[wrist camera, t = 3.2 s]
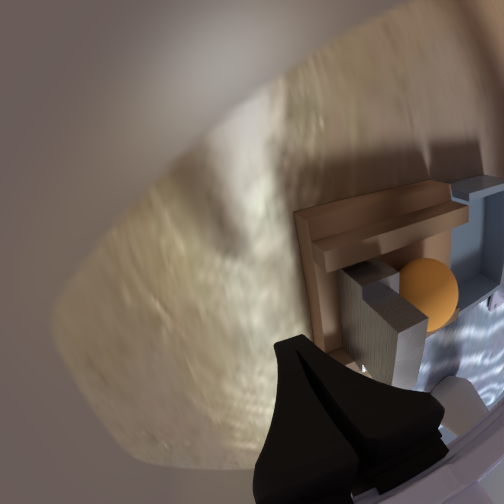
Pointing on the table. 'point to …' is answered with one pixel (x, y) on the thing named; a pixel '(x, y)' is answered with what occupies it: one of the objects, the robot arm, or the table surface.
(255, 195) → the table surface
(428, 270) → the ball
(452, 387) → the salt shaker
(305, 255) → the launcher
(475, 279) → the blue-grey open tray
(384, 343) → the grey stepped block
